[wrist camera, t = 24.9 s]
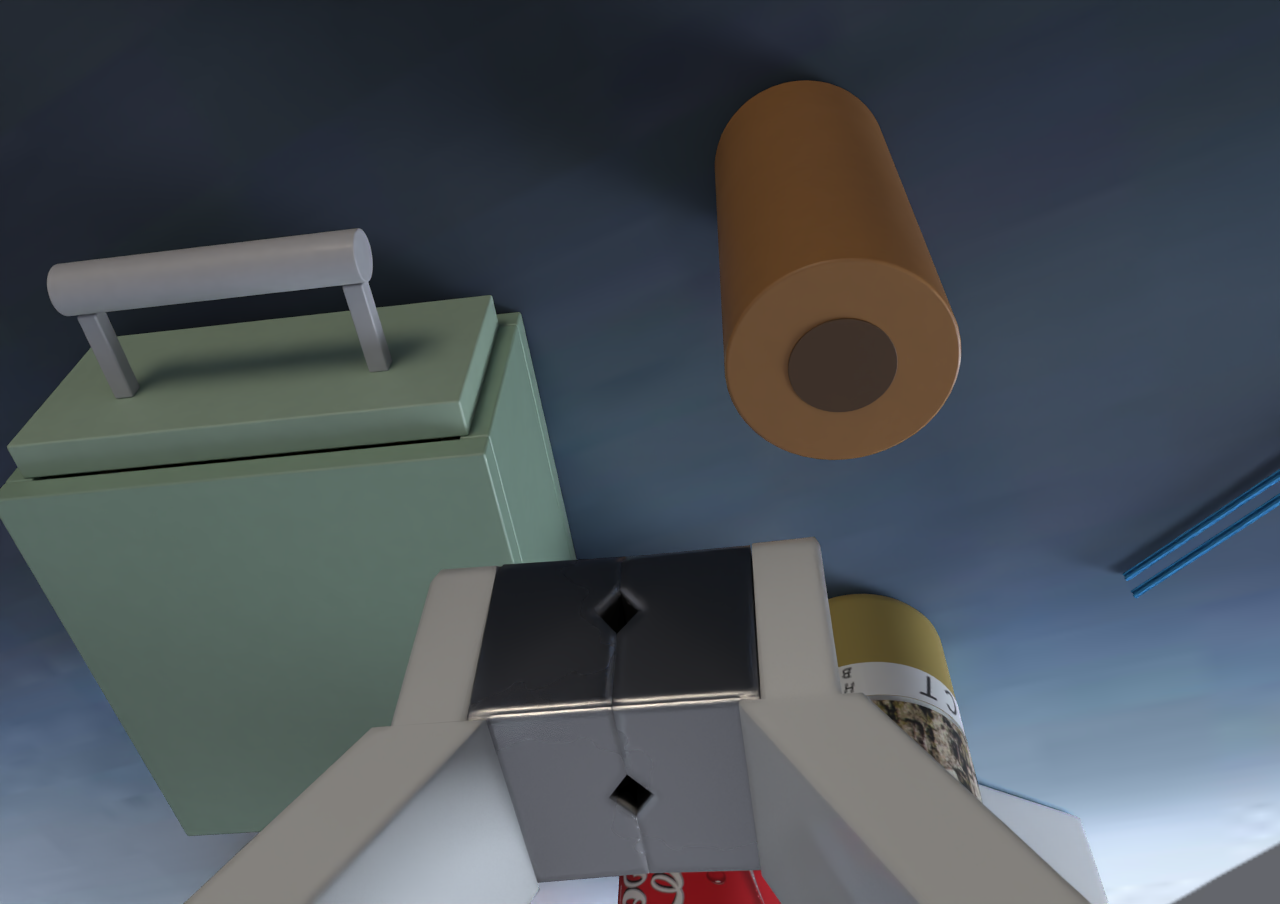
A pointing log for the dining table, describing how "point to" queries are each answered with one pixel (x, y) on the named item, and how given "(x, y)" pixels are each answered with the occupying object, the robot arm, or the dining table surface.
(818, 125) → the paper roll
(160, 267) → the drawer
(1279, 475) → the blue branched twig
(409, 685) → the robot arm
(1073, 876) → the milk carton
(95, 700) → the dining table surface
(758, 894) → the soda can
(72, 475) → the cabinet
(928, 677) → the paper tube
